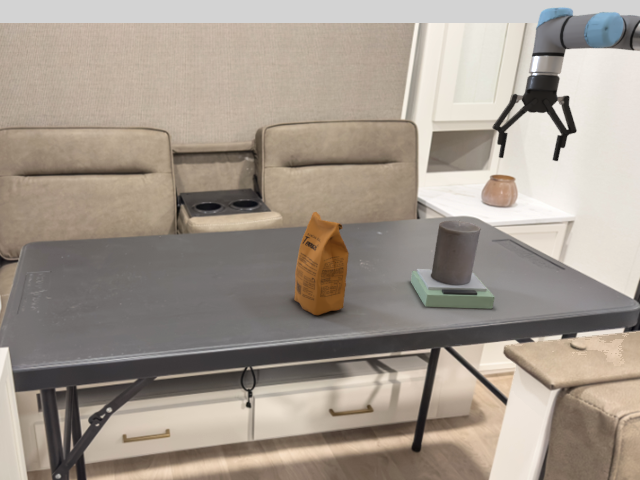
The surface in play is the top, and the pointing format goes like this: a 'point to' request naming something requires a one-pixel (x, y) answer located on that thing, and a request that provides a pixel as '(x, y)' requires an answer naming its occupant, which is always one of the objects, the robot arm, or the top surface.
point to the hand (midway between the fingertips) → (527, 159)
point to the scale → (451, 292)
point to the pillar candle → (455, 252)
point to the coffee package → (321, 267)
